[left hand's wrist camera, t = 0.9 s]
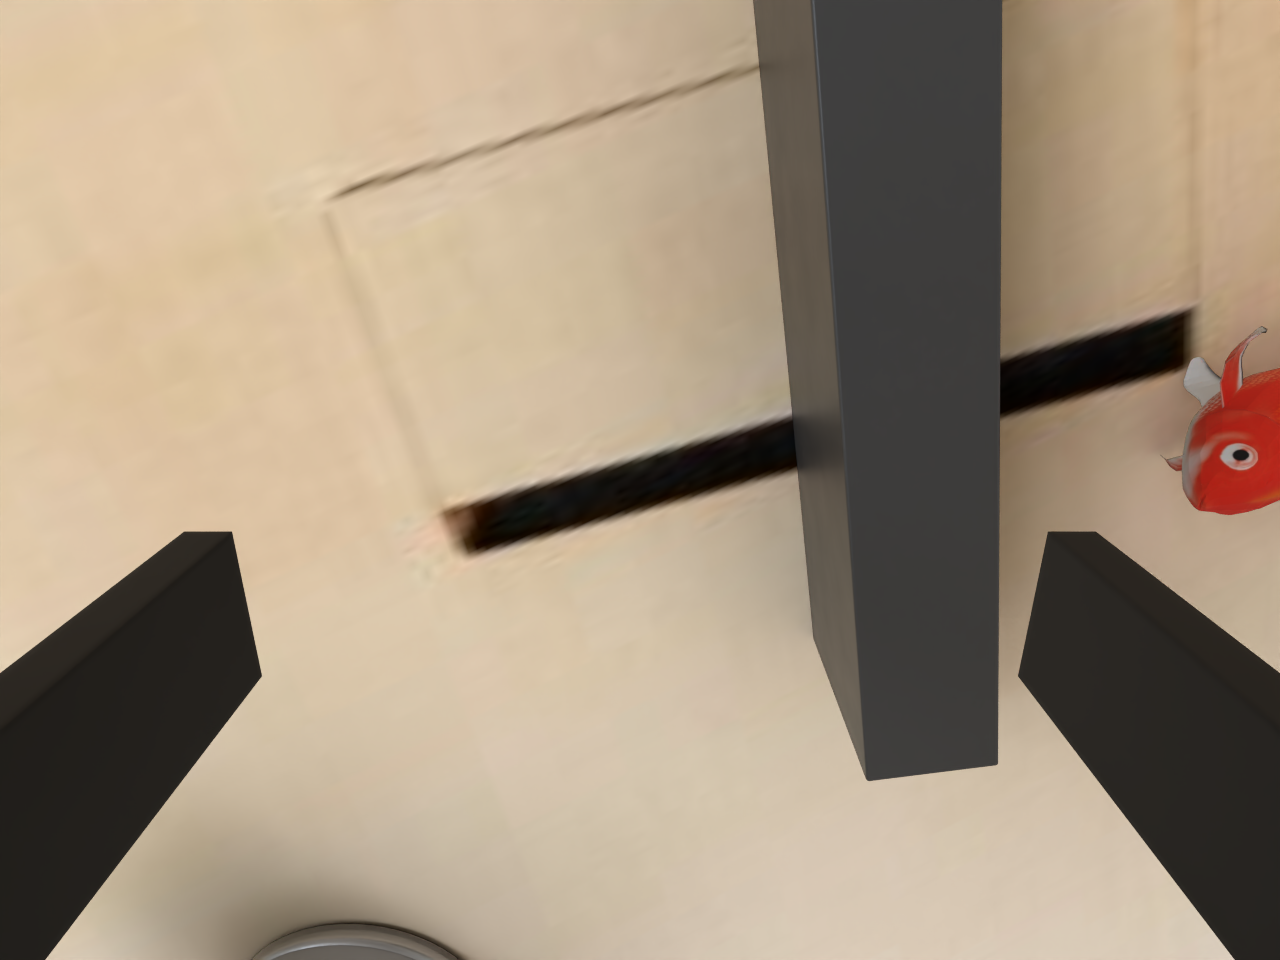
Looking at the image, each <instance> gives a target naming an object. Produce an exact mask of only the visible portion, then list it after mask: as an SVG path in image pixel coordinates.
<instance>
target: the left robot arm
mask: <svg viewBox="0 0 1280 960" xmlns="http://www.w3.org/2000/svg"><path fill="white" fill-rule="evenodd" d="M261 677H262V674H261V669H260V665H259V660H258V655H257V650H256V645H255V640H254V636H253V631H252V626H251V621H250V616H249V612H248V607H247V602H246V597H245V592H244V588H243V583H242V578H241V573H240V568H239V563H238V559H237V554H236V549H235V544H234V539H233V535H232V532H183V533H182V534H181V535H179V536H178V537H177V538H175V539H174V540H173V541H172V542H170V543H169V544H168V545H166V546H165V547H164V548H162V549H161V550H160V551H158V552H157V553H156V554H155V555H153V556H152V557H151V558H149V559H148V560H147V561H145V562H144V563H143V564H142V565H140V566H139V567H138V568H136V569H135V570H134V571H132V572H131V573H130V574H129V575H127V576H126V577H125V578H123V579H122V580H121V581H119V582H118V583H117V584H116V585H114V586H113V587H112V588H110V589H109V590H108V591H106V592H105V593H104V594H103V595H101V596H100V597H99V598H97V599H96V600H95V601H93V602H92V603H91V604H90V605H88V606H87V607H86V608H84V609H83V610H82V611H80V612H79V613H78V614H77V615H75V616H74V617H73V618H71V619H70V620H69V621H67V622H66V623H65V624H64V625H62V626H61V627H60V628H58V629H57V630H56V631H54V632H53V633H52V634H51V635H49V636H48V637H47V638H45V639H44V640H43V641H41V642H40V643H39V644H38V645H36V646H35V647H34V648H32V649H31V650H30V651H28V652H27V653H26V654H25V655H23V656H22V657H21V658H19V659H18V660H17V661H15V662H14V663H13V664H12V665H10V666H9V667H8V668H6V669H5V670H4V671H2V672H1V673H0V960H45V959H46V958H47V957H48V955H49V954H50V953H51V951H52V950H53V949H54V948H55V946H56V945H57V944H58V942H59V941H60V940H61V938H62V937H63V936H64V934H65V933H66V932H67V931H68V929H69V928H70V927H71V925H72V924H73V923H74V921H75V920H76V919H77V917H78V916H79V915H80V914H81V912H82V911H83V910H84V908H85V907H86V906H87V904H88V903H89V902H90V900H91V899H92V898H93V897H94V895H95V894H96V893H97V891H98V890H99V889H100V887H101V886H102V885H103V883H104V882H105V881H106V880H107V878H108V877H109V876H110V874H111V873H112V872H113V870H114V869H115V868H116V866H117V865H118V864H119V862H120V861H121V860H122V859H123V857H124V856H125V855H126V853H127V852H128V851H129V849H130V848H131V847H132V845H133V844H134V843H135V842H136V840H137V839H138V838H139V836H140V835H141V834H142V832H143V831H144V830H145V828H146V827H147V826H148V825H149V823H150V822H151V821H152V819H153V818H154V817H155V815H156V814H157V813H158V811H159V810H160V809H161V808H162V806H163V805H164V804H165V802H166V801H167V800H168V798H169V797H170V796H171V794H172V793H173V792H174V791H175V789H176V788H177V787H178V785H179V784H180V783H181V781H182V780H183V779H184V777H185V776H186V775H187V774H188V772H189V771H190V770H191V768H192V767H193V766H194V764H195V763H196V762H197V760H198V759H199V758H200V756H201V755H202V754H203V753H204V751H205V750H206V749H207V747H208V746H209V745H210V743H211V742H212V741H213V739H214V738H215V737H216V736H217V734H218V733H219V732H220V730H221V729H222V728H223V726H224V725H225V724H226V722H227V721H228V720H229V719H230V717H231V716H232V715H233V713H234V712H235V711H236V709H237V708H238V707H239V705H240V704H241V703H242V702H243V700H244V699H245V698H246V696H247V695H248V694H249V692H250V691H251V690H252V688H253V687H254V686H255V685H256V683H257V682H258V681H259V679H260V678H261ZM1018 677H1019V678H1020V679H1021V681H1022V682H1023V683H1024V684H1025V686H1026V687H1027V688H1028V690H1029V691H1030V692H1031V694H1032V695H1033V696H1034V698H1035V699H1036V700H1037V702H1038V703H1039V704H1040V705H1041V707H1042V708H1043V709H1044V711H1045V712H1046V713H1047V715H1048V716H1049V717H1050V719H1051V720H1052V721H1053V722H1054V724H1055V725H1056V726H1057V728H1058V729H1059V730H1060V732H1061V733H1062V734H1063V736H1064V737H1065V738H1066V739H1067V741H1068V742H1069V743H1070V745H1071V746H1072V747H1073V749H1074V750H1075V751H1076V753H1077V754H1078V755H1079V756H1080V758H1081V759H1082V760H1083V762H1084V763H1085V764H1086V766H1087V767H1088V768H1089V770H1090V771H1091V772H1092V773H1093V775H1094V776H1095V777H1096V779H1097V780H1098V781H1099V783H1100V784H1101V785H1102V787H1103V788H1104V789H1105V791H1106V792H1107V793H1108V794H1109V796H1110V797H1111V798H1112V800H1113V801H1114V802H1115V804H1116V805H1117V806H1118V808H1119V809H1120V810H1121V811H1122V813H1123V814H1124V815H1125V817H1126V818H1127V819H1128V821H1129V822H1130V823H1131V825H1132V826H1133V827H1134V828H1135V830H1136V831H1137V832H1138V834H1139V835H1140V836H1141V838H1142V839H1143V840H1144V842H1145V843H1146V844H1147V845H1148V847H1149V848H1150V849H1151V851H1152V852H1153V853H1154V855H1155V856H1156V857H1157V859H1158V860H1159V861H1160V862H1161V864H1162V865H1163V866H1164V868H1165V869H1166V870H1167V872H1168V873H1169V874H1170V876H1171V877H1172V878H1173V880H1174V881H1175V882H1176V883H1177V885H1178V886H1179V887H1180V889H1181V890H1182V891H1183V893H1184V894H1185V895H1186V897H1187V898H1188V899H1189V900H1190V902H1191V903H1192V904H1193V906H1194V907H1195V908H1196V910H1197V911H1198V912H1199V914H1200V915H1201V916H1202V917H1203V919H1204V920H1205V921H1206V923H1207V924H1208V925H1209V927H1210V928H1211V929H1212V931H1213V932H1214V933H1215V934H1216V936H1217V937H1218V938H1219V940H1220V941H1221V942H1222V944H1223V945H1224V946H1225V948H1226V949H1227V950H1228V951H1229V953H1230V954H1231V955H1232V957H1233V958H1234V959H1235V960H1280V673H1279V672H1278V671H1276V670H1275V669H1274V668H1272V667H1271V666H1270V665H1268V664H1267V663H1266V662H1265V661H1263V660H1262V659H1261V658H1259V657H1258V656H1257V655H1255V654H1254V653H1253V652H1252V651H1250V650H1249V649H1248V648H1246V647H1245V646H1244V645H1242V644H1241V643H1240V642H1239V641H1237V640H1236V639H1235V638H1233V637H1232V636H1231V635H1229V634H1228V633H1227V632H1226V631H1224V630H1223V629H1222V628H1220V627H1219V626H1218V625H1216V624H1215V623H1214V622H1213V621H1211V620H1210V619H1209V618H1207V617H1206V616H1205V615H1203V614H1202V613H1201V612H1200V611H1198V610H1197V609H1196V608H1194V607H1193V606H1192V605H1190V604H1189V603H1188V602H1187V601H1185V600H1184V599H1183V598H1181V597H1180V596H1179V595H1177V594H1176V593H1175V592H1174V591H1172V590H1171V589H1170V588H1168V587H1167V586H1166V585H1164V584H1163V583H1162V582H1161V581H1159V580H1158V579H1157V578H1155V577H1154V576H1153V575H1151V574H1150V573H1149V572H1148V571H1146V570H1145V569H1144V568H1142V567H1141V566H1140V565H1138V564H1137V563H1136V562H1135V561H1133V560H1132V559H1131V558H1129V557H1128V556H1127V555H1125V554H1124V553H1123V552H1122V551H1120V550H1119V549H1118V548H1116V547H1115V546H1114V545H1112V544H1111V543H1110V542H1108V541H1107V540H1106V539H1105V538H1103V537H1102V536H1101V535H1099V534H1098V533H1097V532H1048V535H1047V539H1046V544H1045V549H1044V554H1043V559H1042V563H1041V568H1040V573H1039V578H1038V583H1037V588H1036V592H1035V597H1034V602H1033V607H1032V612H1031V616H1030V621H1029V626H1028V631H1027V636H1026V641H1025V645H1024V650H1023V655H1022V660H1021V665H1020V669H1019V674H1018ZM252 960H459V959H457V958H456V957H455V956H453V955H452V954H450V953H449V952H447V951H446V950H444V949H442V948H441V947H439V946H437V945H435V944H433V943H431V942H429V941H427V940H425V939H422V938H420V937H417V936H414V935H412V934H409V933H405V932H402V931H399V930H395V929H390V928H386V927H380V926H373V925H363V924H333V925H324V926H317V927H313V928H308V929H304V930H301V931H297V932H294V933H292V934H289V935H287V936H284V937H282V938H280V939H278V940H276V941H274V942H272V943H271V944H269V945H268V946H266V947H265V948H263V949H262V950H261V951H260V952H259V953H257V954H256V955H255V956H254V957H253V958H252Z"/></svg>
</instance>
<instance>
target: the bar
mask: <svg viewBox="0 0 1280 960" xmlns="http://www.w3.org/2000/svg"><path fill="white" fill-rule="evenodd" d="M753 3H754V14H755V24H756V35H757V45H758V56H759V66H760V77H761V88H762V98H763V109H764V119H765V130H766V140H767V151H768V162H769V172H770V183H771V193H772V204H773V214H774V225H775V236H776V246H777V257H778V267H779V278H780V288H781V299H782V310H783V320H784V331H785V341H786V352H787V362H788V373H789V383H790V394H791V405H792V415H793V426H794V436H795V447H796V457H797V468H798V479H799V489H800V500H801V510H802V521H803V531H804V542H805V553H806V563H807V574H808V584H809V595H810V605H811V616H812V627H813V637H814V641H815V644H816V646H817V649H818V652H819V655H820V657H821V660H822V663H823V665H824V668H825V671H826V673H827V676H828V679H829V681H830V684H831V687H832V689H833V692H834V695H835V697H836V700H837V703H838V705H839V708H840V711H841V713H842V716H843V719H844V721H845V724H846V727H847V729H848V732H849V735H850V737H851V740H852V743H853V745H854V748H855V751H856V753H857V756H858V759H859V761H860V764H861V767H862V769H863V772H864V775H865V777H866V779H867V781H873V780H881V779H889V778H897V777H905V776H913V775H921V774H929V773H937V772H945V771H953V770H961V769H969V768H977V767H985V766H993V765H997V764H998V653H999V472H1000V292H1001V112H1002V0H753Z"/></svg>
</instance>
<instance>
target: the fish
mask: <svg viewBox="0 0 1280 960" xmlns="http://www.w3.org/2000/svg"><path fill="white" fill-rule="evenodd" d="M1266 331H1267V329H1266V328H1264V327H1263V326H1261V327H1260V328H1258V329H1257V330H1255V331H1254V332H1253V333H1252V334H1251V335H1250V336H1249V337H1247V338H1246V339H1245V340H1244V341H1242V342H1241V343H1240V344H1239V345H1238V346H1237V347H1236V348H1235V349H1234V350H1233V351H1232V352H1231V354H1230V355H1229V357H1228V358H1227V360H1226V361H1225V367H1224V371H1223V374H1222V377H1221V378H1220V377H1219V376H1217V375H1216V374H1215V373H1214V372H1213V371H1212V370H1211V369H1210V367H1209V366H1208V365H1207V363H1206V362H1205V361H1204V359H1203V358H1201V357H1197V358H1194V359H1192V360H1191V362H1190V364H1189V366H1188V369H1187V372H1186V375H1185V378H1184V387H1185V389H1186V390H1187V391H1188V392H1189V393H1191V394H1192V395H1193V396H1195V397H1196V398H1197V399H1198V400H1199V401H1200V403H1201V406H1202V408H1201V409H1200V410H1199V412H1198V413H1197V414H1196V415H1195V416H1194V417H1193V419H1192V421H1191V423H1190V425H1189V429H1188V432H1187V435H1186V439H1185V445H1184V450H1183V455H1182V456H1179V457H1175V458H1171V459H1168V460H1166V459H1165V458H1164V459H1165V460H1166V461H1167V463H1168V464H1169V466H1170V467H1171V468H1173V469H1174V470H1176V471H1181V470H1182V484H1183V490H1184V492H1185V495H1186V497H1187V498H1188V499H1189V501H1190V502H1191V504H1192V505H1193V506H1194V507H1195V508H1196V509H1198V510H1200V511H1208V512H1216V513H1219V514H1225V515H1233V514H1238V513H1244V512H1249V511H1252V510H1255V509H1259V508H1262V507H1264V506H1267V505H1269V504H1271V503H1274V502H1276V501H1278V500H1280V368H1279V369H1274V370H1270V371H1265V372H1261V373H1257V374H1254V375H1251V376H1249V377H1246V378H1244V379H1243V372H1242V356H1243V353H1244V351H1245V349H1246V347H1247V346H1248V344H1249V342H1250V341H1251V340H1253V339H1254V338H1256V337H1257V336H1258V335H1260V334H1261V333H1266Z"/></svg>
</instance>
